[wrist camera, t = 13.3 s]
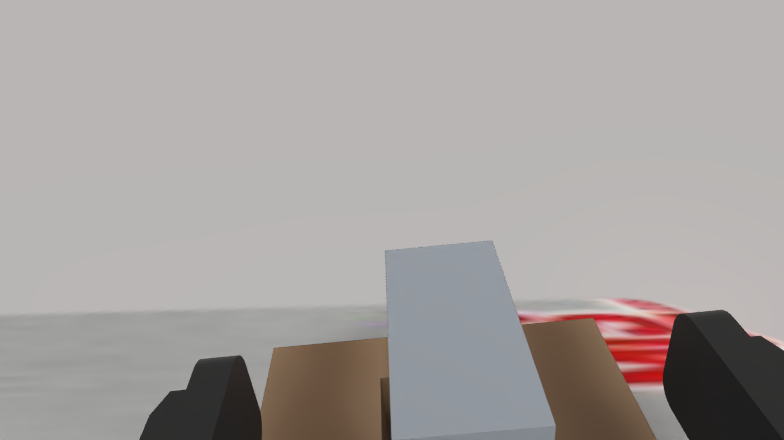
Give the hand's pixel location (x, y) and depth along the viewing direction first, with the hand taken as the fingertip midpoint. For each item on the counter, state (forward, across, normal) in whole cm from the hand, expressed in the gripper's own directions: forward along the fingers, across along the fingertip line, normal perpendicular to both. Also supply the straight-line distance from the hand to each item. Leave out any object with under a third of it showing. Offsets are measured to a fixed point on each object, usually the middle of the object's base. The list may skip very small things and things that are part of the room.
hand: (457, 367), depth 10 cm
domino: (0, 0, +10) cm, 10 cm away
